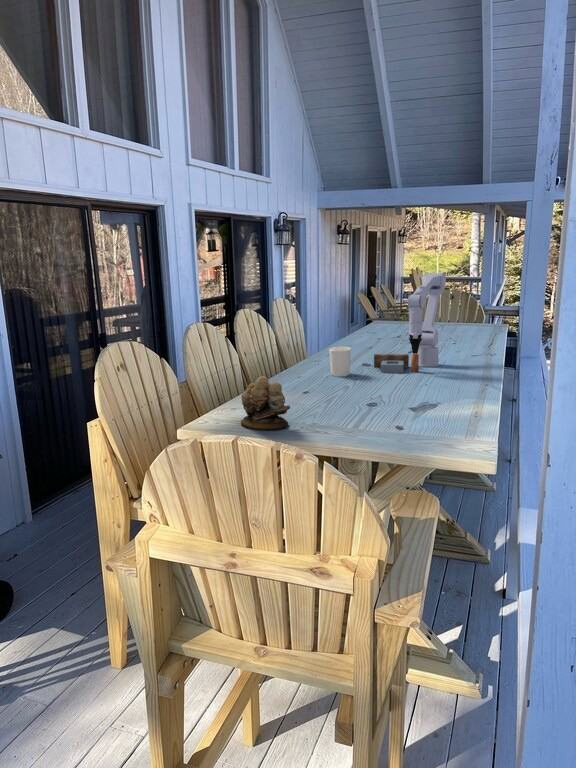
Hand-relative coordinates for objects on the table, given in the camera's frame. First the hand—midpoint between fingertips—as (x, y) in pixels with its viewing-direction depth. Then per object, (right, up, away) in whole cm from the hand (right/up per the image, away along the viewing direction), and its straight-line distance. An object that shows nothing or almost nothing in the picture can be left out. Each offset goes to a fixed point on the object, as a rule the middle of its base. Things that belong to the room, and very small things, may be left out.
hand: (415, 351), depth 246 cm
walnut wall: (-8, -6, +13) cm, 17 cm away
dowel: (0, -9, +2) cm, 9 cm away
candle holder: (-34, -10, +2) cm, 35 cm away
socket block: (-9, -8, +7) cm, 14 cm away
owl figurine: (-65, -28, -64) cm, 95 cm away
